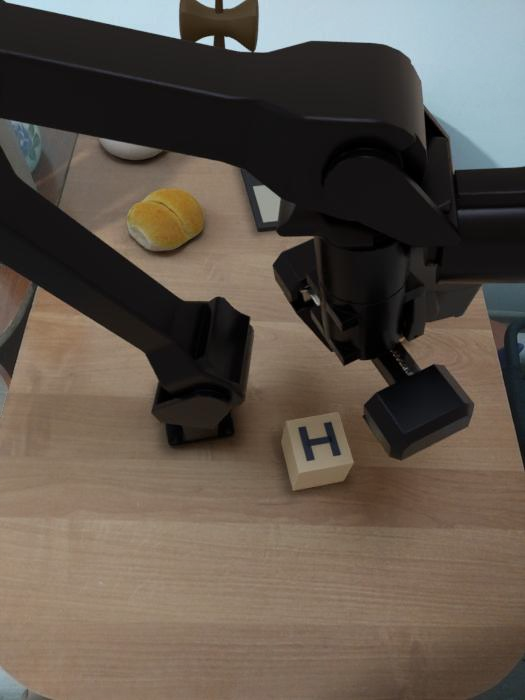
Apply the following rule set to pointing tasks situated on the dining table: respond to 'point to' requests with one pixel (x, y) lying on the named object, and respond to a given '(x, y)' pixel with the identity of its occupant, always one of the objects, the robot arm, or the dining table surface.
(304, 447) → the letter H
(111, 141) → the donut
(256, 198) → the word mat
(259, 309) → the dining table surface
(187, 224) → the bread roll
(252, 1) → the kendama
